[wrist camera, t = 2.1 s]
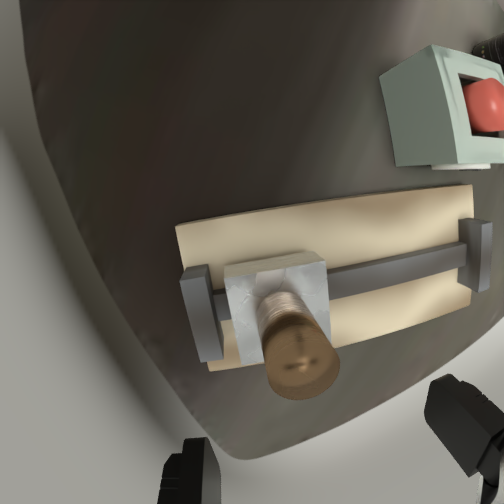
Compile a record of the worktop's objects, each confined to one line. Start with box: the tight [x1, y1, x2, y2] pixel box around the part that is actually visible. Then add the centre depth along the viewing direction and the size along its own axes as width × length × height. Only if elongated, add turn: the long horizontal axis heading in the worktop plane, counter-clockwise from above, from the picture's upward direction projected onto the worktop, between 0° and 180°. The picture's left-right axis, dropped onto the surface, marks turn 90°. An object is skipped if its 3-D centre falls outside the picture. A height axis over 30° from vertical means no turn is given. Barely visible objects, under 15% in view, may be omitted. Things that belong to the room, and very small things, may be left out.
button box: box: [379, 44, 504, 171], centre depth 18 cm, size 9×8×8 cm
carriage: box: [224, 251, 340, 400], centre depth 17 cm, size 6×6×10 cm
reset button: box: [462, 78, 504, 134], centre depth 14 cm, size 4×4×4 cm
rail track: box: [175, 184, 492, 371], centre depth 22 cm, size 12×26×5 cm, turn 99°
